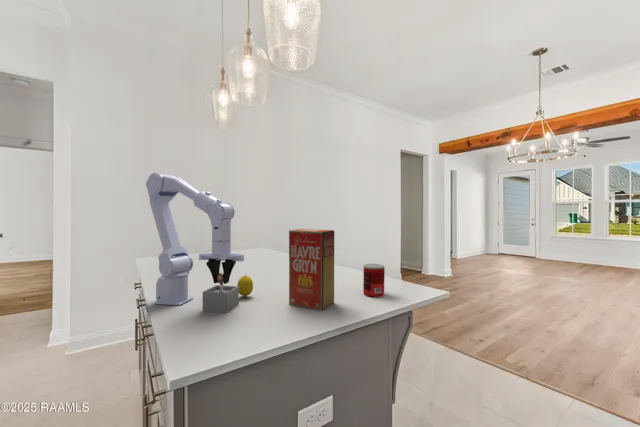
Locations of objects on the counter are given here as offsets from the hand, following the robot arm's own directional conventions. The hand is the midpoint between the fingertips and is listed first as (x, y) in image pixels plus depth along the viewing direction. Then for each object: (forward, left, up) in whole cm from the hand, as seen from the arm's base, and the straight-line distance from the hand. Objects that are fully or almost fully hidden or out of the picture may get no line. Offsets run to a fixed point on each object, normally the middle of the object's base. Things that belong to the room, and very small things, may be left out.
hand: (221, 282), depth 95 cm
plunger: (0, 0, -4) cm, 4 cm away
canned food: (+49, +24, -8) cm, 55 cm away
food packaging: (+28, +9, -8) cm, 31 cm away
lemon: (+3, +12, -8) cm, 15 cm away
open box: (0, 0, -8) cm, 8 cm away
